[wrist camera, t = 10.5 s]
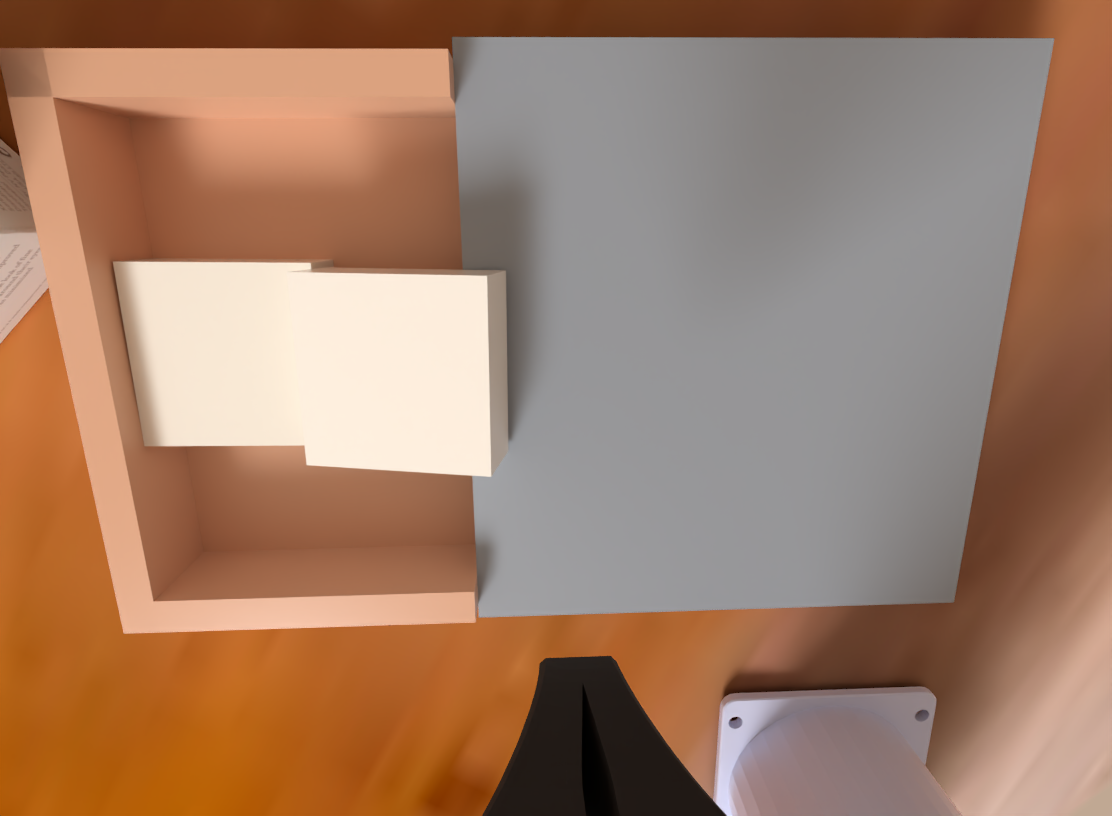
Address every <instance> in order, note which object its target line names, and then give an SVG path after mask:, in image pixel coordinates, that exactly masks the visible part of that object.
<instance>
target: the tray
mask: <svg viewBox="0 0 1112 816" xmlns="http://www.w3.org/2000/svg"><path fill="white" fill-rule="evenodd" d="M0 66H1V70H2V75H3V79H4V84H5V89H6V93H7V98H8V102H9V107H10V112H11V116H12V121H13V125H14V130H15V135H16V139H17V144H18V148H19V153H20V158H21V162H22V167H23V172H24V176H25V181H26V185H27V190H28V195H29V199H30V204H31V208H32V213H33V218H34V222H35V227H36V231H37V236H38V241H39V245H40V250H41V254H42V259H43V264H44V268H45V273H46V277H47V282H48V287H49V291H50V296H51V300H52V305H53V310H54V314H55V319H56V323H57V328H58V333H59V337H60V342H61V346H62V351H63V356H64V360H65V365H66V370H67V374H68V379H69V383H70V388H71V393H72V397H73V402H74V406H75V411H76V416H77V420H78V425H79V429H80V434H81V439H82V443H83V448H84V452H85V457H86V462H87V466H88V471H89V475H90V480H91V485H92V489H93V494H94V498H95V503H96V508H97V512H98V517H99V521H100V526H101V531H102V535H103V540H104V544H105V549H106V554H107V558H108V563H109V567H110V572H111V577H112V581H113V586H114V591H115V595H116V600H117V604H118V609H119V614H120V618H121V623H122V627H123V632H124V634H125V633H157V632H188V631H219V630H251V629H282V628H314V627H345V626H376V625H408V624H439V623H471V622H476V616H477V609H478V586H477V565H476V543H475V522H474V500H473V479H472V476H470V475H454V474H439V473H423V472H407V471H391V470H375V469H360V468H344V467H328V466H312V465H306V455H305V445H300V446H144V441H143V435H142V429H141V424H140V418H139V412H138V406H137V400H136V394H135V389H134V383H133V377H132V371H131V365H130V360H129V354H128V348H127V342H126V336H125V330H124V325H123V319H122V313H121V307H120V301H119V295H118V290H117V284H116V278H115V272H114V266H113V261H127V260H140V259H153V258H195V259H333V264H334V267H339V268H395V269H452V270H463V264H462V243H461V221H460V200H459V179H458V157H457V136H456V114H455V93H454V71H453V59H452V57H451V54H450V52H449V50H448V49H274V48H0Z"/></svg>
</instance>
